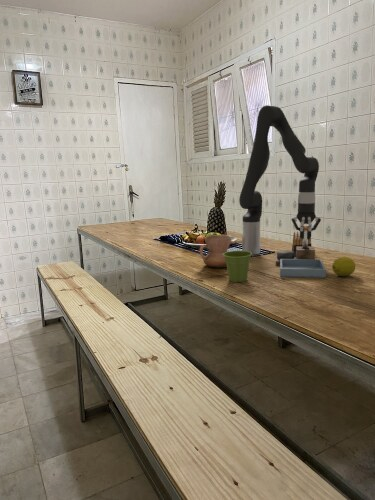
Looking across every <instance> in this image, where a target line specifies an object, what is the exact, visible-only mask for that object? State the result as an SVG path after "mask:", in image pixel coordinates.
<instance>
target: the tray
mask: <svg viewBox="0 0 375 500" xmlns="http://www.w3.org/2000/svg"><path fill="white" fill-rule="evenodd" d="M279 271H280V272H279V277H280V278H307V279H308V278H309V279H310V278H313V279H314V278H315V279H326V278H327V269H326V266H325V264H324V262H323V259H319V258H317V259H316V258H315V259H280V265H279Z"/></svg>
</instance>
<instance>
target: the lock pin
mask: <svg viewBox="0 0 375 500" xmlns="http://www.w3.org/2000/svg"><path fill="white" fill-rule="evenodd" d="M308 229H309V227H308V225H304V226H303V245H302V249H308Z"/></svg>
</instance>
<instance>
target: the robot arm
mask: <svg viewBox="0 0 375 500" xmlns="http://www.w3.org/2000/svg"><path fill="white" fill-rule="evenodd" d="M271 127H272V128H274V129H275V130H277V131H278V133H279V135H280V136H281V137H280V138H281V142H282V145H283V147H284V149H285V150H286V152H287V153H288V154H289V156H290V157H291V159H292V163H293V164H294V168H295V169H296V170H297V171H298V172H299V173H300V174H304V176H303V178H301V179H300V180H299V182H298V196H297V214H296V216H295V217H291V219H290V220H291V222H292V224H293V226H294V227H295V230H297V231H298V232H299V235H300V238H301V239H303V226H305V225H307V226H308V227H309V229H308V239H310V238H311V239H312V232H313V231H316V229H317V228H318V226H319V224H320V223H321V221H322V219H321V217H318V216H316V181H317V178H318V174H319V170H320V164H319V163H320V162H319V160H318V159H317V158H316V157H313V156H312V157H309V156H308V157H307V155H306V147H305V146H304V145H303V143H302V142H301V141H300V139H299V138H298V136H297V135H296V134H295V132H294V130H293V129H292V127H291V125H290V123H289V121H288V119H287V117H286V115H285V113H284V112H283V110H282V109H281V108H280V107H278V106H276V105H263V106H262V107H261V108H260V109H259V112H258V115H257V119H256V128H255V136H254V140H253V144H252V145H253V146H252V149H251V153H250V158H249V161H248V168H247V171H246V175H245V180H244V182H243V186H242V189H241V191H240V195H239V199H238V201H239V202H238V203H239V205H240V208H242V209H243V210H247V211H246V213H245V214H244V215H243V216H242V236H241V239H242V241H241V243H242V245H241V246H242V250H241V251H248V252H251V253H252V255H251V256H253V255H259V254H261V217H262V214H263V197H262V194H261V193H260V191H259V190H256V188H257V185H258V183H259V181H260V179H261V178H262V177H263V175H264V174H265V172H266V170H267V168H268V166H269V165H268V164H269V162H270V161H269V160H270V157H271V155H270V154H271V153H270V152H271V150H270V145H269V141H268V140H269V132H270V128H271ZM297 221H299V222H300V225H299V226H298V223H297ZM313 222H315V223H314V225H313V226H312V223H313Z"/></svg>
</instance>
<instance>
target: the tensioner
mask: <svg viewBox="0 0 375 500" xmlns="http://www.w3.org/2000/svg"><path fill="white" fill-rule="evenodd" d="M280 259H316V249H315V247H314V246H311V247H308V249H302V247H296V254H294V252H293V251H292V250H278V251H276V255H275V266H280Z"/></svg>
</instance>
